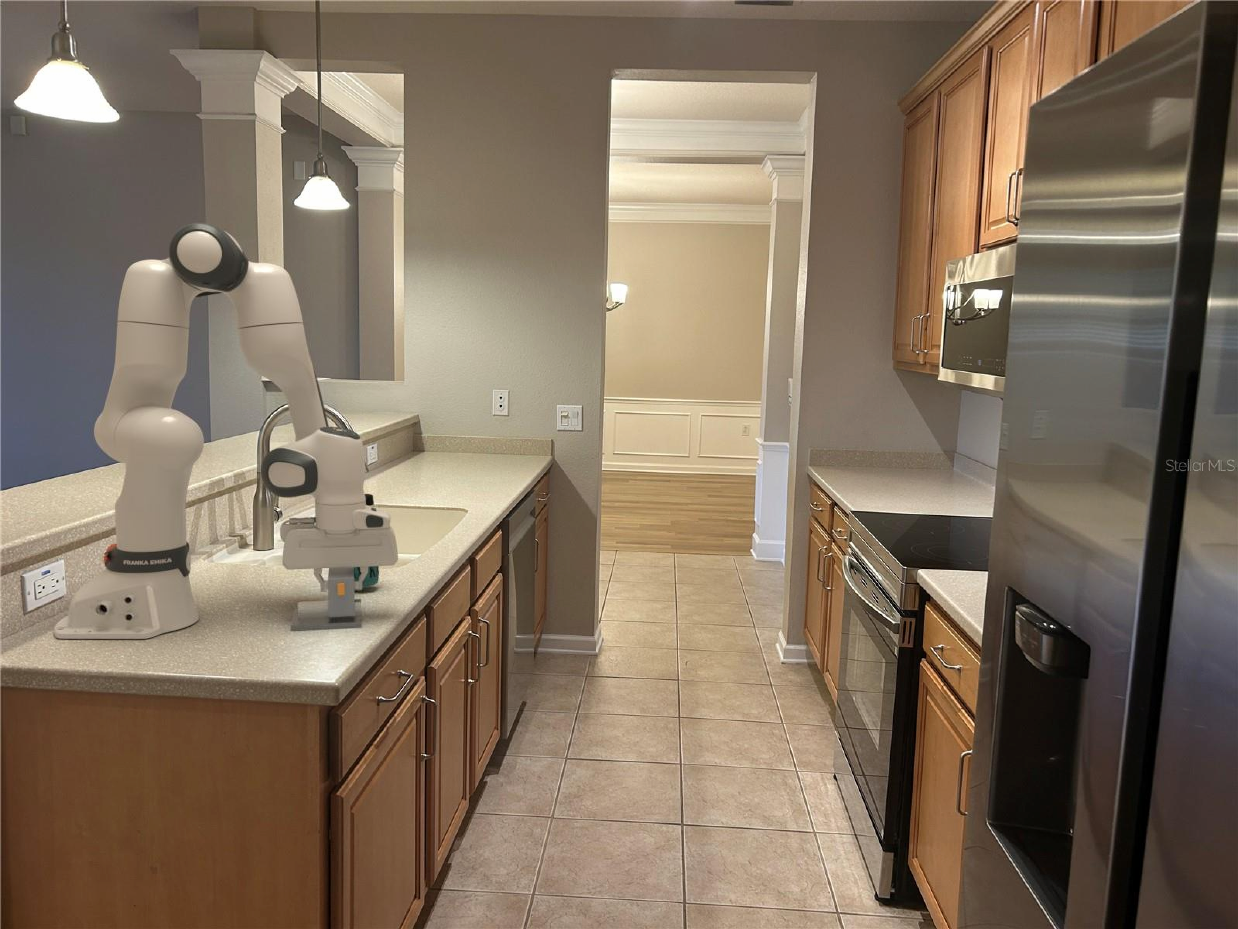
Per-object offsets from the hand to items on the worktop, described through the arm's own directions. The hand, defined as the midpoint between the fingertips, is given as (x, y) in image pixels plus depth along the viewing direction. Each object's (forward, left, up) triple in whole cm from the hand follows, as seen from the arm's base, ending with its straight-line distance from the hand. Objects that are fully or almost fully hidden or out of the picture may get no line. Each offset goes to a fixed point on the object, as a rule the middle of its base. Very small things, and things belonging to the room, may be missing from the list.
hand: (341, 590), depth 168 cm
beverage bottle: (+4, +20, -6) cm, 21 cm away
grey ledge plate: (-2, 0, -6) cm, 6 cm away
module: (0, 0, -4) cm, 4 cm away
